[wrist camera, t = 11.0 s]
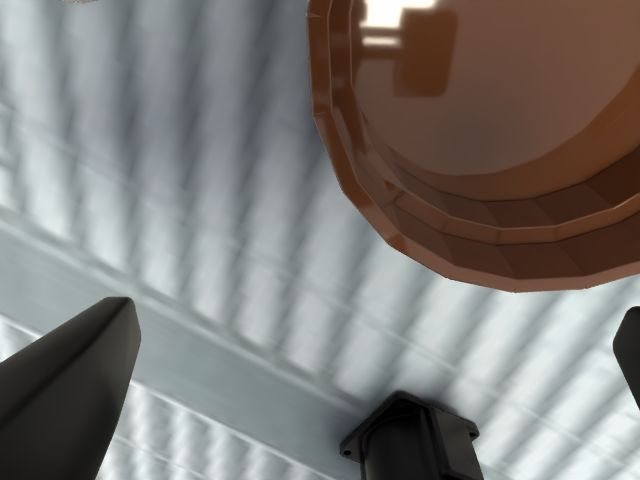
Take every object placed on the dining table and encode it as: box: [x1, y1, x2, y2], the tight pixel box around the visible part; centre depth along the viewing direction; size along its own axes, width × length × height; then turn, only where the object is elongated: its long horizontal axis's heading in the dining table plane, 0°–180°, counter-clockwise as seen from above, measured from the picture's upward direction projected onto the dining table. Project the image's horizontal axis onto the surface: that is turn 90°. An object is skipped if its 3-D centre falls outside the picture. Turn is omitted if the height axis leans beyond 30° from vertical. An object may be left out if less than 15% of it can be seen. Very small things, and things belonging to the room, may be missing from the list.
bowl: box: [306, 0, 640, 293], centre depth 14 cm, size 16×16×5 cm
